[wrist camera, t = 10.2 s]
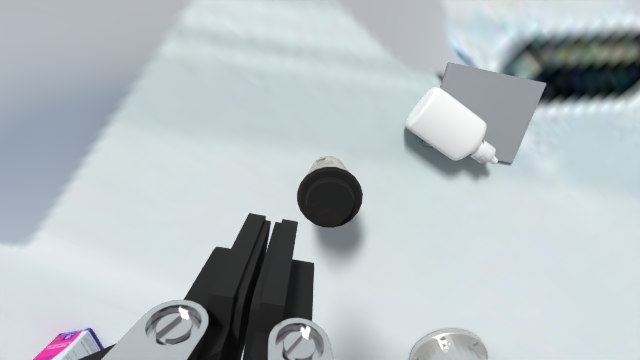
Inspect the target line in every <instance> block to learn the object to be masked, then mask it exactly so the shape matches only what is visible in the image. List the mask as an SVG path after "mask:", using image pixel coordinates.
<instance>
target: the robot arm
mask: <svg viewBox="0 0 640 360" xmlns="http://www.w3.org/2000/svg"><path fill="white" fill-rule="evenodd" d="M265 218H266V216H263V215H257V214H251V213H249V215H248V217H247V219H246V221H245V223H244V225H243V227H242V229H241V230H240V232H239V234H238V236H237V238H236V240H235V242H234V244H233V246H232V248H231V249H228V248H222V247H216V248H215V249H214V250H213V252H212V254H211V255H210V257H209V259H208V260H207V262H206V263H205V265H204V267H203V268H202V270H201V272H200V273H199V275H198V277H197V278H196V280H195V282H194V283H193V285H192V287H191V288H190V290H189V292H188V293H187V295H186V297H185V298H184V300H172V301H169V302H165V303H162V304H160V305H158V306H156V307H154V308H152V309H151V310H150V311H148V312H147V313H146V314H145V315H144V316H143V317H142V318H141V319H140V320H139V321H138V322H137V323H136V324H135V325H134V326H133V327H132V328H131V329H130V330H129V331H128V332H127V333H126V334H125V335H124V336H123V338H122V339H121V340H120V341H119V342H118V343H116V344H114V345H112V346H109V347H107V348H105V349H102V350H100V351H97V352H95V353H93V354H90V355H88V356H85V357H83V358H81V359H78V360H241V357H242V353H243V350H244V355H243V360H334V358H333V354H332V349H331V344H330V341H329V338H328V335H327V334H326V333H325V331H324V330H323V329H322V328H321V327H320V326H318V325H317V324H316V323H314V322H312V307H313V281H314V263H311V262H305V261H299V260H293V259H292V257H293V250H294V244H295V238H296V231H297V225H298V222H296V221H291V220H285V219H282V223H278V222H275V226H274V229H273V232H272V235H271V239H270V242H269V245H268V248H267V244H268V237H269V231H270V224H271V221H267V220H265ZM266 250H267V252H266ZM244 346H245V348H244ZM409 360H488V354H487V350H486V348H485V346H484V344H483V343H482V341H481V340H480V339H479V338H478V337H477V336H476V335H474V334H472V333H471V332H468V331H465V330H460V329H444V330H439V331H436V332H433V333H431V334H429V335H427V336H425V337H424V338H422V339H421V340H420V341H419V342H418V343H416V345H415V346H414V347H413V349H412V351H411V353H410V358H409Z"/></svg>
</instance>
